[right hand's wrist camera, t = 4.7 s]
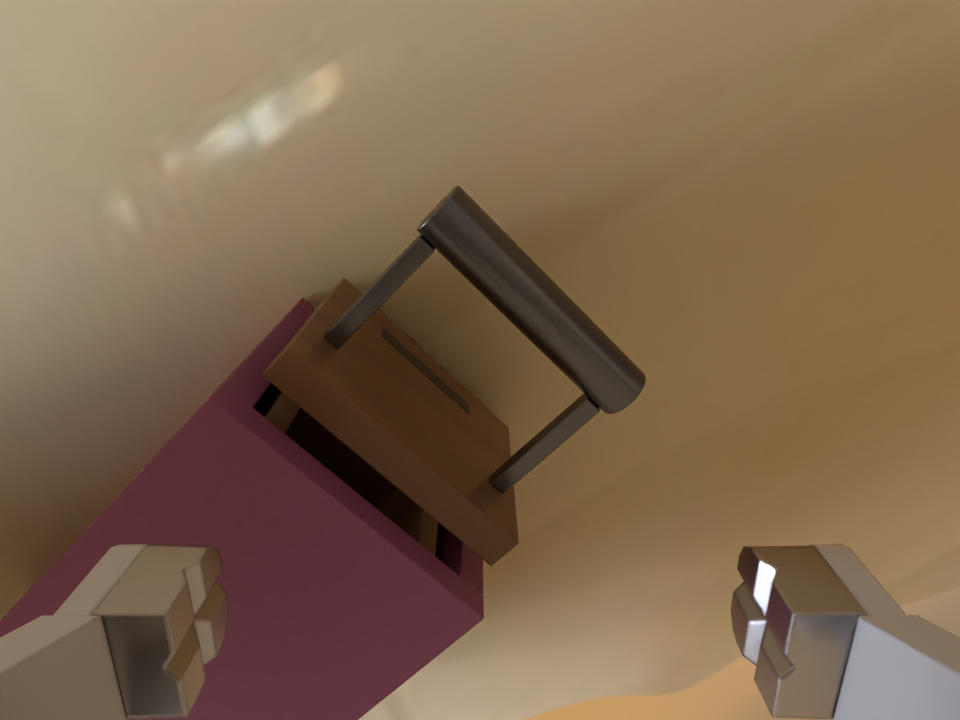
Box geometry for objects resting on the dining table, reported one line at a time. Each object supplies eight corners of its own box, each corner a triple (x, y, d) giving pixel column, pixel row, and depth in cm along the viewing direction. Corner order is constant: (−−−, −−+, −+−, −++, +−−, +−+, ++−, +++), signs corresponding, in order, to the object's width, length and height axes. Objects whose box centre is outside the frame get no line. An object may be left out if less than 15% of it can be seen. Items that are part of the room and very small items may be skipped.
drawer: (454, 161, 24) (444, 183, 16) (619, 329, 26) (674, 415, 19) (69, 568, 30) (-65, 717, 22) (229, 676, 32) (154, 845, 25)
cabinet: (302, 297, 27) (208, 397, 17) (482, 456, 29) (484, 618, 20) (30, 589, 31) (-158, 789, 22) (203, 704, 34) (100, 927, 25)
